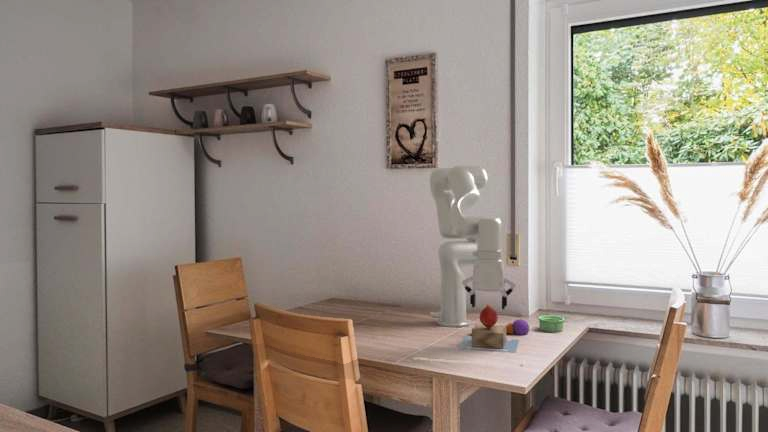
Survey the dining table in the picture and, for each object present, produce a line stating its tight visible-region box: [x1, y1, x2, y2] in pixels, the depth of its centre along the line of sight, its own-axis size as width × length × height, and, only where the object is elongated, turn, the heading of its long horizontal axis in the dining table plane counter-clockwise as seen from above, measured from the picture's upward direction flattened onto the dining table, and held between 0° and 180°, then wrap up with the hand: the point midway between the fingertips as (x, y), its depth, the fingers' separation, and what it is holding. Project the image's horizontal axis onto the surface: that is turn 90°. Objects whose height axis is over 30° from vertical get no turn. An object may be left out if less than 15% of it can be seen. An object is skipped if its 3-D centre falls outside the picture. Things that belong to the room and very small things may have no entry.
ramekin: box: [538, 315, 565, 333], centre depth 211 cm, size 9×9×4 cm
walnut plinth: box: [471, 324, 507, 349], centre depth 189 cm, size 10×10×5 cm
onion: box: [479, 304, 499, 329], centre depth 189 cm, size 6×6×8 cm
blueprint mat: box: [457, 336, 520, 354], centre depth 189 cm, size 18×16×1 cm
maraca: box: [471, 318, 530, 336], centre depth 202 cm, size 6×6×20 cm
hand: (488, 307), depth 189 cm, fingers open, 9 cm apart
